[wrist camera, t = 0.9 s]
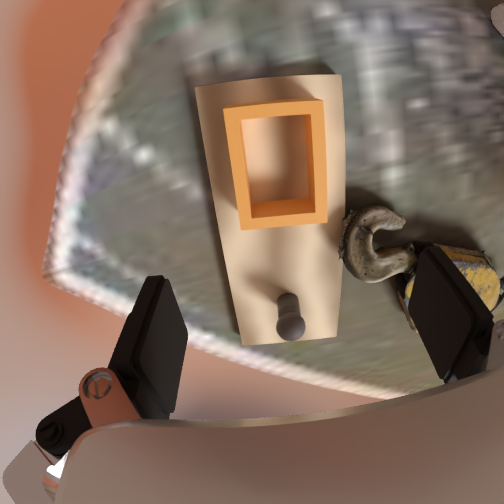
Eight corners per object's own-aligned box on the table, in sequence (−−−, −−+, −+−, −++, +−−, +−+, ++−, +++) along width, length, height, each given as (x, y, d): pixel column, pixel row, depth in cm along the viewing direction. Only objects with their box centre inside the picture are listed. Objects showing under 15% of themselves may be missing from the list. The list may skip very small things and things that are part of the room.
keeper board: (336, 74, 22) (363, 74, 16) (334, 328, 38) (344, 370, 32) (197, 86, 23) (178, 89, 17) (242, 336, 39) (241, 380, 33)
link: (314, 97, 22) (323, 100, 19) (320, 206, 27) (327, 222, 25) (226, 105, 23) (223, 108, 20) (242, 213, 28) (240, 230, 25)
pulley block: (410, 180, 20) (522, 305, 29) (388, 151, 25) (506, 276, 33) (303, 289, 29) (452, 358, 37) (301, 250, 33) (442, 329, 41)
